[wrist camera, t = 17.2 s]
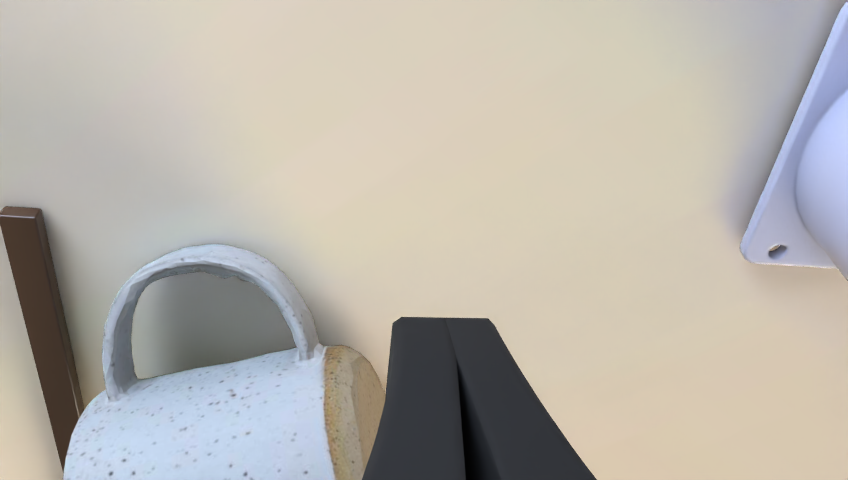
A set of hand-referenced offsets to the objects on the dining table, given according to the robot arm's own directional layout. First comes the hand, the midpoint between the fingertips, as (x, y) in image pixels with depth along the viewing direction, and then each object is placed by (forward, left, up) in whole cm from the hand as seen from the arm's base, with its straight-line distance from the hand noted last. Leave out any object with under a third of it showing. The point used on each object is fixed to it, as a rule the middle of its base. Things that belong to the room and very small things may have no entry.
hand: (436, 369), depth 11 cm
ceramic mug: (+4, +11, -11) cm, 16 cm away
